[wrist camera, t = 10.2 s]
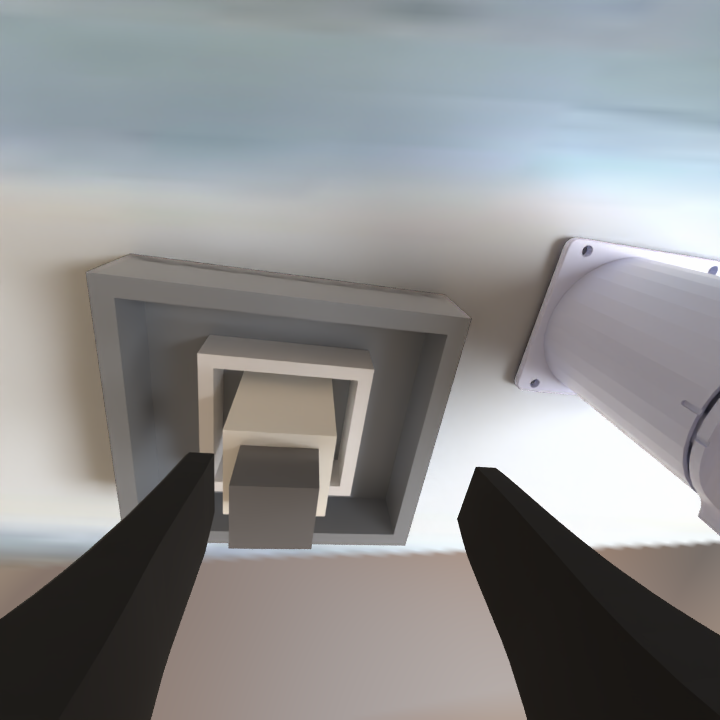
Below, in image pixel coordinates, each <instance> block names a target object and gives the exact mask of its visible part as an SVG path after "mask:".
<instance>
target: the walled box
mask: <svg viewBox="0 0 720 720" xmlns="http://www.w3.org/2000/svg"><path fill="white" fill-rule="evenodd" d="M86 278H87V285H88V292H89V299H90V306H91V313H92V320H93V327H94V334H95V341H96V348H97V355H98V362H99V369H100V376H101V383H102V390H103V397H104V404H105V411H106V417H107V424H108V431H109V438H110V445H111V452H112V459H113V466H114V473H115V480H116V487H117V494H118V501H119V508H120V515H121V520H123V519H124V518H125V517H126V516H127V515H128V514H129V513H130V512H131V511H132V510H133V509H134V508H135V507H136V506H137V505H138V504H139V503H140V502H141V501H142V500H143V499H144V498H145V497H146V496H147V495H148V494H149V493H150V492H151V491H152V490H153V489H154V488H155V487H156V486H157V485H158V484H159V483H160V482H161V481H162V480H163V479H164V478H165V477H166V476H167V474H168V473H169V472H170V471H171V470H172V469H173V468H174V467H175V466H176V465H177V464H178V463H179V461H180V460H181V459H182V458H183V457H184V456H185V455H186V454H188V453H189V452H197V453H214V479H215V513H214V517H213V521H212V526H211V530H210V534H209V538H208V542H207V543H229V514H223V428H224V425H225V422H226V420H227V417H228V414H229V411H230V409H231V406H232V403H233V400H234V398H235V395H236V392H237V389H238V387H239V384H240V381H241V378H242V376H243V373H244V371H252V372H263V373H275V374H286V375H298V376H309V377H321V378H332V387H333V398H334V409H335V421H336V432H337V439H336V446H335V452H334V459H333V466H332V472H331V479H330V486H329V492H328V499H327V506H326V512H325V516H316V518H315V525H314V532H313V540H312V544H335V545H405V544H406V541H407V537H408V534H409V531H410V527H411V524H412V520H413V517H414V514H415V510H416V507H417V503H418V500H419V496H420V493H421V490H422V486H423V483H424V479H425V476H426V473H427V469H428V466H429V462H430V459H431V456H432V452H433V449H434V445H435V442H436V438H437V435H438V432H439V428H440V425H441V421H442V418H443V415H444V411H445V408H446V404H447V401H448V398H449V394H450V391H451V387H452V384H453V380H454V377H455V374H456V370H457V367H458V363H459V360H460V357H461V353H462V350H463V346H464V343H465V339H466V336H467V333H468V329H469V326H470V322H471V319H472V318H470V317H469V316H468V315H467V314H466V313H465V312H464V311H463V310H461V309H460V308H459V307H458V306H457V305H456V304H455V303H453V302H452V301H451V300H450V299H449V298H448V297H447V296H446V295H444V294H436V293H428V292H421V291H413V290H405V289H398V288H390V287H382V286H375V285H367V284H359V283H352V282H344V281H336V280H329V279H321V278H313V277H305V276H298V275H290V274H282V273H275V272H267V271H259V270H252V269H244V268H236V267H229V266H221V265H213V264H206V263H198V262H190V261H183V260H175V259H167V258H159V257H152V256H144V255H136V254H129V255H126V256H124V257H121V258H119V259H116V260H114V261H112V262H109V263H107V264H104V265H102V266H99V267H97V268H94V269H92V270H89V271H87V272H86Z"/></svg>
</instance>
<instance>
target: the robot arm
mask: <svg viewBox="0 0 720 720" xmlns="http://www.w3.org/2000/svg"><path fill="white" fill-rule="evenodd" d="M585 246H587V251H586V253H585V254H583V255H582V250H583V248H584V247H585ZM709 269H710V271H709V272H708V270H709ZM534 379H536V381H535V382H534V383H533V384H530V383H531V382H532V381H533V380H534ZM515 385H516V386H517V387H518V388H519V389H520V390H525V391H536V392H547V393H559V394H570V395H578V396H579V397H580V398H582V399H583V400H584V401H585V402H587V403H588V404H589V405H590V406H591V407H593V408H594V409H595V410H596V411H598V412H599V413H600V414H601V415H602V416H604V417H605V418H606V419H607V420H609V421H610V422H611V423H612V424H613V425H615V426H616V427H617V428H618V429H620V430H621V431H622V432H623V433H624V434H626V435H627V436H628V437H629V438H631V439H632V440H633V441H634V442H635V443H637V444H638V445H639V446H640V447H641V448H643V449H644V450H645V451H646V452H648V453H649V454H650V455H651V456H652V457H654V458H655V459H656V460H657V461H659V462H660V463H661V464H662V465H663V466H665V467H666V468H667V469H668V470H670V471H671V472H672V473H673V474H674V475H676V476H677V477H678V478H679V479H681V480H682V481H683V482H684V483H685V484H687V485H688V486H689V487H690V488H692V489H693V490H694V491H695V492H696V493H698V495H699V496H700V498H701V508H700V511H699V514H698V517H699V518H700V519H702V520H703V521H704V522H705V523H706V524H707V525H708V526H709V527H711V528H712V529H713V530H714V531H715V532H716V533H717V534H719V535H720V261H716V260H710V259H704V258H698V257H692V256H686V255H680V254H674V253H668V252H662V251H656V250H650V249H644V248H638V247H632V246H626V245H620V244H614V243H608V242H602V241H596V240H590V239H584V238H578V237H574V238H571V239H569V240H568V241H567V242H566V243H565V245H564V247H563V250H562V252H561V255H560V258H559V261H558V263H557V266H556V269H555V271H554V274H553V277H552V280H551V282H550V285H549V288H548V290H547V293H546V296H545V299H544V301H543V304H542V307H541V309H540V312H539V315H538V318H537V320H536V323H535V326H534V328H533V331H532V334H531V337H530V339H529V342H528V345H527V347H526V350H525V353H524V356H523V358H522V361H521V364H520V366H519V369H518V372H517V375H516V377H515ZM214 513H215V479H214V453H197V452H189V453H188V454H186V455H185V456H184V457H183V458H182V459H181V460H180V461H179V463H178V464H177V465H176V466H175V467H174V468H173V469H172V470H171V471H170V472H169V473H168V474H167V476H166V477H165V478H164V479H163V480H162V481H161V482H160V483H159V484H158V485H157V486H156V487H155V488H154V489H153V490H152V491H151V492H150V493H149V494H148V495H147V496H146V497H145V498H144V499H143V500H142V501H141V502H140V503H139V504H138V505H137V506H136V507H135V508H134V509H133V510H132V511H131V512H130V513H129V514H128V515H127V516H126V517H125V518H124V519H123V520H121V521H120V522H119V523H118V524H117V525H116V526H115V527H114V528H113V529H111V530H110V531H109V532H108V533H107V534H106V535H105V536H104V537H103V538H101V539H100V540H99V541H98V542H97V543H96V544H95V545H94V546H93V547H91V548H90V549H89V550H88V551H87V552H86V553H84V554H83V555H82V556H81V557H80V558H79V559H77V560H76V561H75V562H74V563H73V564H71V565H70V566H69V567H68V568H66V569H65V570H64V571H63V572H62V573H60V574H59V575H58V576H57V577H55V578H54V579H53V580H52V581H50V582H49V583H48V584H47V585H45V586H44V587H43V588H42V589H40V590H39V591H38V592H36V593H35V594H34V595H32V596H31V597H30V598H28V599H27V600H26V601H24V602H23V603H22V604H20V605H19V606H17V607H16V608H15V609H13V610H12V611H11V612H9V613H8V614H7V615H5V616H4V617H3V618H1V619H0V720H151V717H152V713H153V709H154V705H155V701H156V698H157V694H158V690H159V686H160V683H161V679H162V676H163V672H164V669H165V666H166V663H167V659H168V656H169V653H170V650H171V647H172V644H173V641H174V639H175V636H176V633H177V630H178V628H179V624H180V621H181V619H182V616H183V613H184V611H185V607H186V605H187V602H188V599H189V597H190V594H191V591H192V588H193V585H194V583H195V580H196V577H197V574H198V571H199V568H200V565H201V563H202V560H203V557H204V554H205V551H206V547H207V542H208V538H209V534H210V530H211V526H212V521H213V517H214ZM457 520H458V524H459V528H460V532H461V536H462V539H463V543H464V546H465V550H466V553H467V556H468V559H469V561H470V564H471V566H472V569H473V571H474V574H475V576H476V579H477V581H478V584H479V586H480V589H481V591H482V594H483V596H484V599H485V601H486V603H487V606H488V608H489V611H490V613H491V616H492V618H493V620H494V623H495V625H496V628H497V630H498V633H499V635H500V637H501V640H502V642H503V645H504V648H505V651H506V653H507V656H508V659H509V661H510V665H511V668H512V671H513V674H514V678H515V680H516V684H517V687H518V690H519V694H520V697H521V700H522V703H523V706H524V710H525V713H526V717H527V720H720V635H719V634H717V633H715V632H714V631H712V630H710V629H709V628H707V627H705V626H704V625H702V624H701V623H699V622H697V621H695V620H694V619H693V618H691V617H689V616H688V615H686V614H685V613H683V612H681V611H680V610H678V609H676V608H675V607H673V606H672V605H670V604H669V603H667V602H666V601H664V600H663V599H661V598H660V597H658V596H657V595H655V594H654V593H652V592H651V591H649V590H648V589H647V588H645V587H644V586H642V585H641V584H639V583H638V582H637V581H635V580H634V579H632V578H631V577H629V576H628V575H627V574H625V573H624V572H622V571H621V570H619V569H618V568H617V567H616V566H614V565H613V564H611V563H610V562H609V561H607V560H606V559H605V558H603V557H602V556H601V555H600V554H598V553H597V552H596V551H595V550H593V549H592V548H591V547H590V546H588V545H587V544H586V543H584V542H583V541H582V540H581V539H579V538H578V537H577V536H576V535H574V534H573V533H572V532H571V531H570V530H568V529H567V528H566V527H565V526H564V525H562V524H561V523H560V522H559V521H558V520H556V519H555V518H554V517H553V516H552V515H551V514H549V513H548V512H547V511H546V510H545V509H544V508H542V507H541V506H540V505H539V504H538V503H537V502H536V501H534V500H533V499H532V498H531V497H530V496H529V495H527V494H526V493H525V492H524V491H523V490H522V489H521V488H519V487H518V486H517V485H516V484H515V483H514V482H512V481H511V480H510V479H509V478H508V477H506V476H505V475H504V474H503V473H501V472H500V471H499V470H498V469H496V468H488V467H476V468H475V471H474V474H473V476H472V479H471V482H470V485H469V488H468V490H467V493H466V496H465V499H464V501H463V504H462V507H461V510H460V513H459V515H458V518H457Z"/></svg>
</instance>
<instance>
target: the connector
mask: <svg viewBox="0 0 720 720" xmlns="http://www.w3.org/2000/svg"><path fill="white" fill-rule="evenodd" d="M336 439H337V432H336V421H335V409H334V398H333V387H332V378H321V377H309V376H298V375H286V374H275V373H263V372H252V371H244V373H243V376H242V378H241V381H240V384H239V387H238V389H237V392H236V395H235V398H234V400H233V403H232V406H231V409H230V411H229V414H228V417H227V420H226V422H225V425H224V428H223V514H229V548H242V549H311V547H312V540H313V532H314V525H315V518H316V516H325V512H326V506H327V499H328V492H329V486H330V479H331V472H332V466H333V459H334V452H335V446H336Z"/></svg>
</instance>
